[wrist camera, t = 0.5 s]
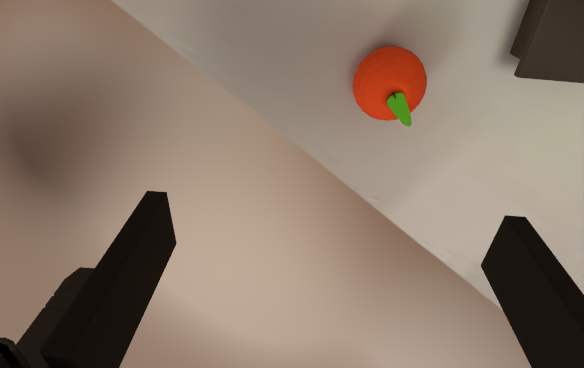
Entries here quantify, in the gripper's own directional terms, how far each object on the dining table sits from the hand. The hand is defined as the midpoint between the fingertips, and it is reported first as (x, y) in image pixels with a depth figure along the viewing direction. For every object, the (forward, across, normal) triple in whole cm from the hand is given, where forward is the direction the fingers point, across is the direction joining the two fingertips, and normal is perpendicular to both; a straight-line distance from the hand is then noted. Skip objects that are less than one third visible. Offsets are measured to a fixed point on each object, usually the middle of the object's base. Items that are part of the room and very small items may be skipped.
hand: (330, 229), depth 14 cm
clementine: (+28, +7, -2) cm, 28 cm away
